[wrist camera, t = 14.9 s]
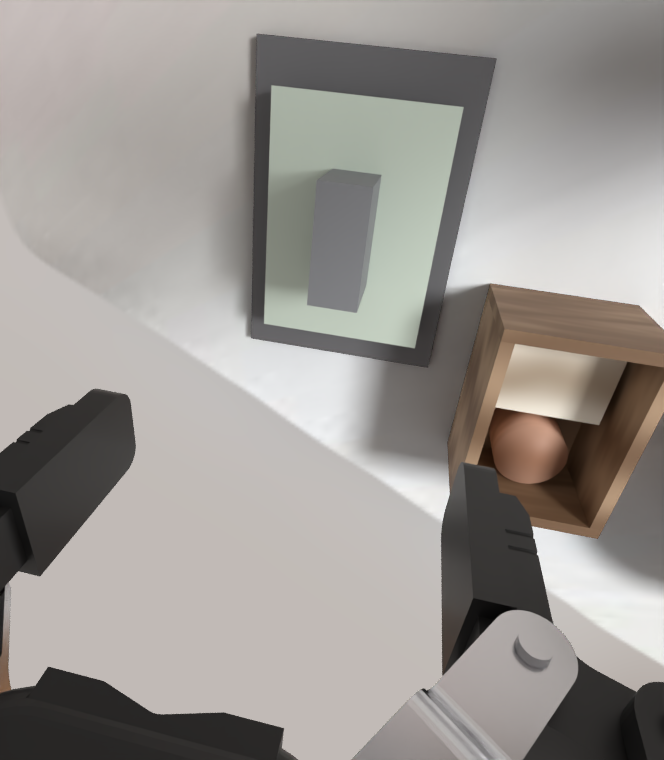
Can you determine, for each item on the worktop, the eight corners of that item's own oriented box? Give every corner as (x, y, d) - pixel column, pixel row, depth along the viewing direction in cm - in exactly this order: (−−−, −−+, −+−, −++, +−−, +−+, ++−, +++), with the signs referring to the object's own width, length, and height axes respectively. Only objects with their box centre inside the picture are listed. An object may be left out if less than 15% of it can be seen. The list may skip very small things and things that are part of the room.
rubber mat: (259, 34, 30) (256, 33, 30) (495, 59, 29) (496, 58, 28) (253, 335, 40) (251, 338, 40) (427, 364, 39) (427, 367, 38)
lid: (281, 86, 31) (243, 83, 24) (461, 106, 30) (469, 108, 23) (272, 312, 38) (241, 353, 32) (415, 335, 37) (412, 383, 31)
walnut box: (490, 283, 35) (504, 328, 28) (639, 305, 34) (691, 358, 27) (447, 442, 42) (450, 510, 35) (569, 464, 41) (597, 538, 34)
